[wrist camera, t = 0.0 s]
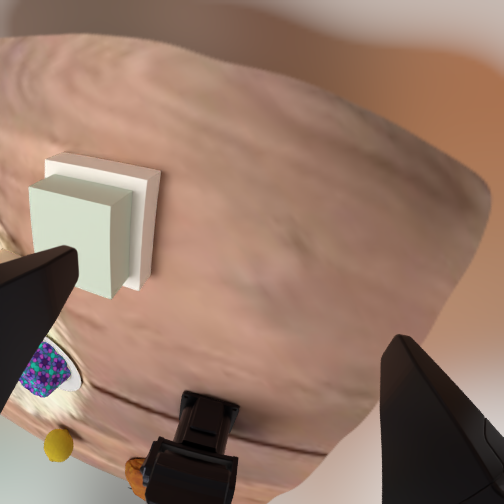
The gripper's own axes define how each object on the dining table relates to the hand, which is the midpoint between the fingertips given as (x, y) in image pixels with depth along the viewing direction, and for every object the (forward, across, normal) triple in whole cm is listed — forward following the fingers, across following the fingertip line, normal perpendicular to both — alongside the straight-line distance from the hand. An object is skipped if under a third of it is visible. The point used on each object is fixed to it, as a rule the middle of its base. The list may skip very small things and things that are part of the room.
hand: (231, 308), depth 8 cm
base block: (+15, +12, +6) cm, 20 cm away
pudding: (+15, +23, +30) cm, 41 cm away
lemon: (+15, +25, +53) cm, 61 cm away
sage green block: (+12, +12, +6) cm, 18 cm away
